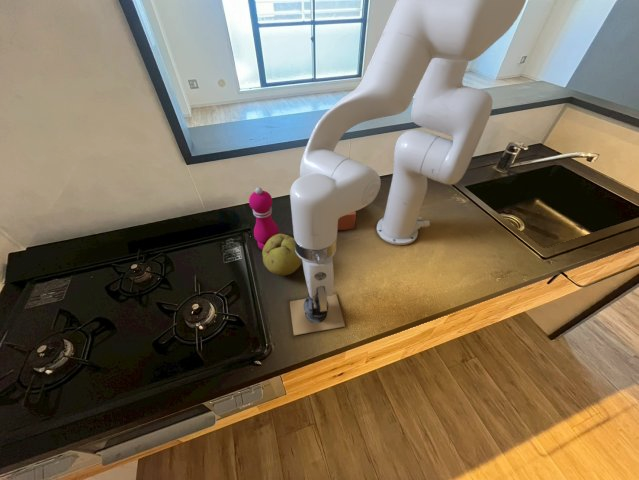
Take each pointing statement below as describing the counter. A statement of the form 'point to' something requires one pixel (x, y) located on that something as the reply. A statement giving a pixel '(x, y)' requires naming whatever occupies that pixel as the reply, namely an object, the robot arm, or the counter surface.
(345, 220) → the holder
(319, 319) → the grey stone figurine
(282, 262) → the fruit
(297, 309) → the board
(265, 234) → the pepper mill
